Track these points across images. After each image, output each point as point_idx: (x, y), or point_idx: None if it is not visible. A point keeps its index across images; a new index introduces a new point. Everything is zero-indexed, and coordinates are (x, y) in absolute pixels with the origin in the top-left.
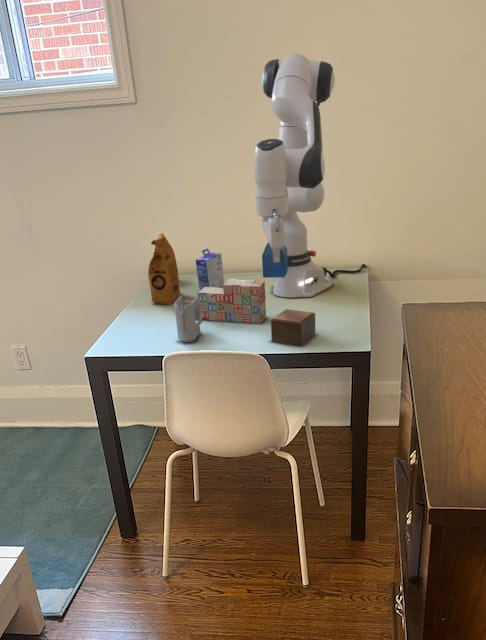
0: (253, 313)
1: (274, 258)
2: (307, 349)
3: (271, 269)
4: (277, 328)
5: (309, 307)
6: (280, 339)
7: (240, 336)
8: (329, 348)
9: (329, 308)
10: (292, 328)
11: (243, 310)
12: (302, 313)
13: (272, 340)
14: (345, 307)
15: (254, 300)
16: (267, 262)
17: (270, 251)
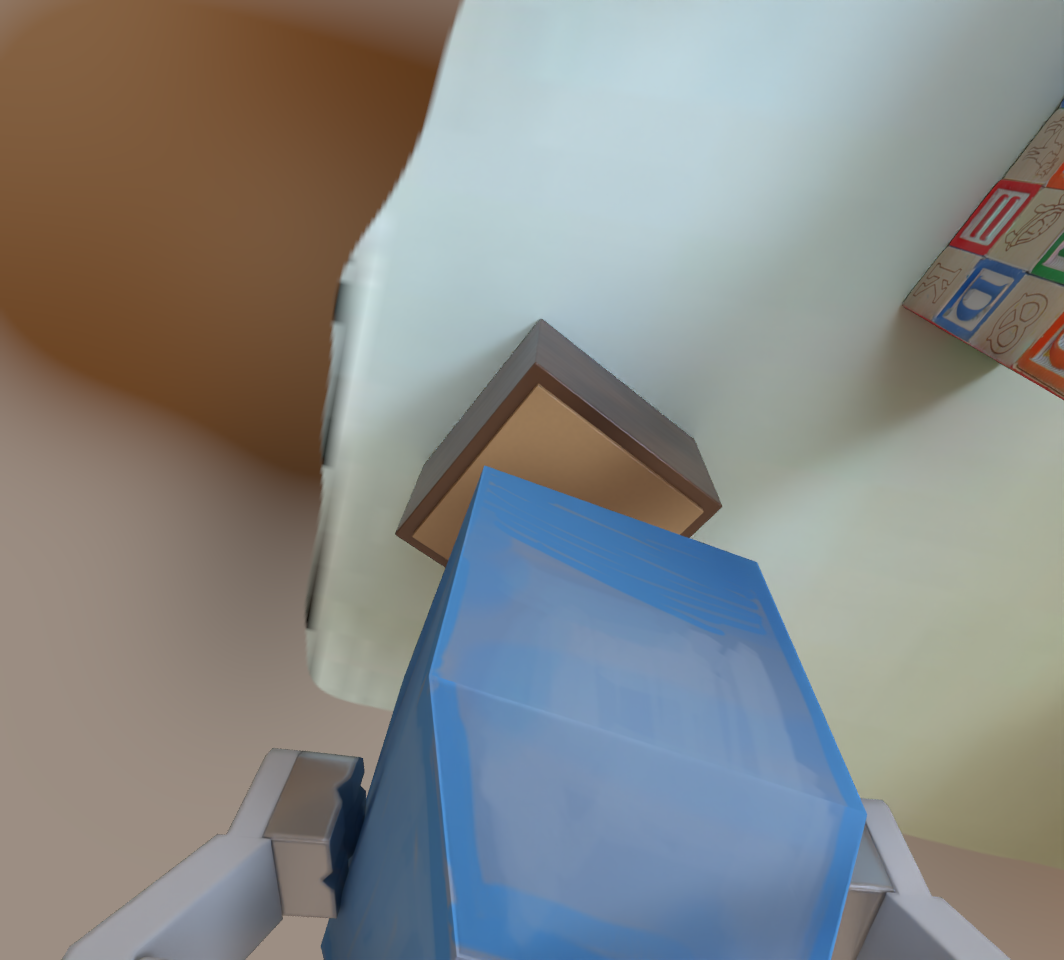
0: (974, 275)
1: (246, 808)
2: (378, 486)
3: (428, 628)
4: (506, 383)
5: (1009, 633)
6: (499, 374)
7: (724, 112)
8: (369, 583)
9: (927, 711)
10: (436, 472)
11: (1052, 196)
12: None
13: (535, 325)
14: (894, 772)
15: (1026, 313)
16: (423, 657)
17: (397, 874)
